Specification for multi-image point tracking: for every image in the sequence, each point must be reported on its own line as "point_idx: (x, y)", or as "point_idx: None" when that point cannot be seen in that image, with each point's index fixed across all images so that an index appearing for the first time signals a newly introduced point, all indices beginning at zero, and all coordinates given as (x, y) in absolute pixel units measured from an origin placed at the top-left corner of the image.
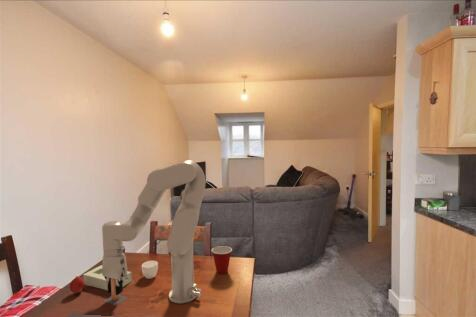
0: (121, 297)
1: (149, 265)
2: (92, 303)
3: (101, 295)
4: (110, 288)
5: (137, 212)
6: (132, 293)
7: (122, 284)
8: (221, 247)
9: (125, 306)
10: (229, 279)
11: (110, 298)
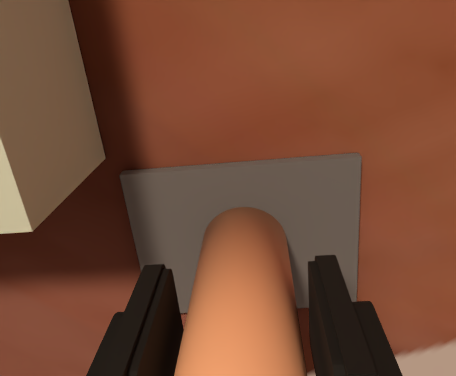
0: (282, 197)
1: None
2: (86, 352)
3: (19, 247)
4: (172, 371)
5: None
6: (332, 49)
7: (46, 17)
8: None
9: (447, 267)
10: None
11: (178, 259)
